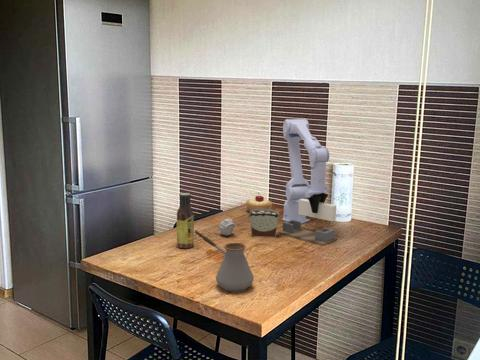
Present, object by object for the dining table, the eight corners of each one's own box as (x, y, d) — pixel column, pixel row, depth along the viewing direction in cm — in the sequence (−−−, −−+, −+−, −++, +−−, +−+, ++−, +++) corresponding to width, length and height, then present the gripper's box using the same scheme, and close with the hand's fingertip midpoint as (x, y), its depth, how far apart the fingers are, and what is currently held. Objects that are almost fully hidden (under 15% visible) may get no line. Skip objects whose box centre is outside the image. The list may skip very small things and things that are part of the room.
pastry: (250, 216, 238) (250, 196, 236) (242, 209, 249) (243, 190, 247) (275, 214, 241) (276, 195, 239) (267, 207, 252) (267, 189, 251)
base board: (279, 233, 213) (279, 231, 212) (294, 228, 220) (294, 226, 220) (322, 245, 199) (322, 243, 199) (337, 239, 206) (337, 237, 206)
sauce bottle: (191, 249, 193) (190, 196, 189) (174, 248, 194) (173, 195, 190) (196, 244, 199) (195, 192, 195) (180, 242, 201) (179, 191, 196)
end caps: (282, 230, 214) (282, 222, 213) (291, 227, 218) (291, 219, 217) (325, 242, 200) (325, 233, 200) (334, 238, 205) (334, 229, 204)
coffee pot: (260, 284, 163) (261, 237, 160) (239, 297, 153) (240, 248, 150) (205, 269, 174) (205, 225, 171) (182, 281, 165) (182, 234, 162)
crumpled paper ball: (225, 239, 205) (225, 221, 204) (215, 234, 211) (215, 217, 210) (238, 236, 209) (238, 219, 208) (228, 231, 214) (228, 215, 213)
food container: (279, 233, 214) (280, 208, 212) (279, 237, 208) (280, 213, 206) (249, 231, 215) (249, 207, 213) (248, 236, 209) (248, 211, 207)
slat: (298, 214, 216) (298, 199, 215) (301, 212, 218) (302, 198, 217) (332, 221, 206) (332, 206, 204) (335, 220, 208) (336, 205, 206)
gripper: (316, 182, 201) (315, 217, 203) (336, 177, 211) (335, 210, 214) (300, 180, 205) (299, 214, 208) (321, 174, 216) (320, 207, 219)
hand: (316, 212), depth 211 cm, fingers closed on slat, 2 cm apart
